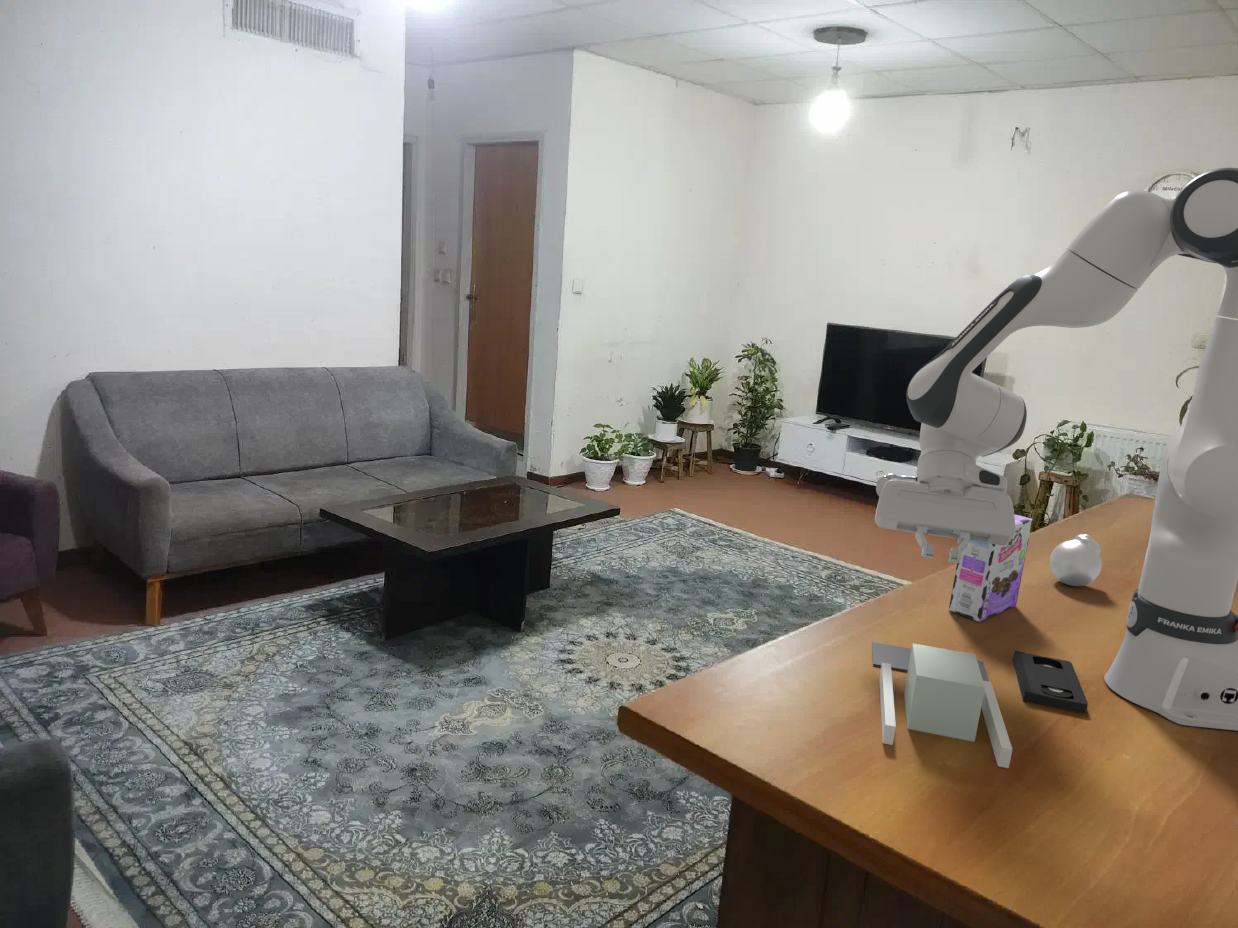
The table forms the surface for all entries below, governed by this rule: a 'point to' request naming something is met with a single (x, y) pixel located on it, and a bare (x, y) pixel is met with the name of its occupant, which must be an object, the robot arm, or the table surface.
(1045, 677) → the vhs tape
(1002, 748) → the channel
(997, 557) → the candy box
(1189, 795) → the table surface
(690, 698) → the table surface
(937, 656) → the sage block
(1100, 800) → the table surface
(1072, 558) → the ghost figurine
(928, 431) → the robot arm
